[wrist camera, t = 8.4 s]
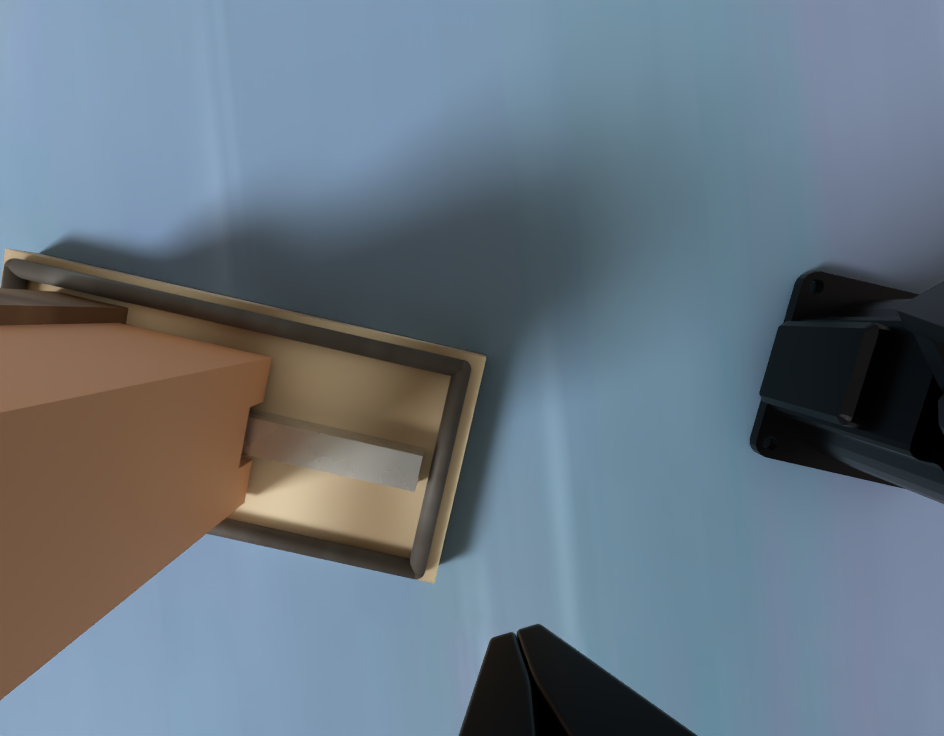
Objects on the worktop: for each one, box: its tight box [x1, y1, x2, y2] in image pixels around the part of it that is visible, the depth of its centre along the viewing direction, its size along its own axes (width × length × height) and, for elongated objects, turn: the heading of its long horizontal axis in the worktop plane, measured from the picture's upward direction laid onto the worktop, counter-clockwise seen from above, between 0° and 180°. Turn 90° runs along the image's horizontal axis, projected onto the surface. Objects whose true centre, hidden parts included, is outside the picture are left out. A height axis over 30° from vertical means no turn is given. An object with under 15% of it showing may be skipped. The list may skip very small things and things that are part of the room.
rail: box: [242, 409, 426, 492], centre depth 17 cm, size 10×1×1 cm, turn 77°
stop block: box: [0, 288, 128, 325], centre depth 14 cm, size 2×6×5 cm, turn 167°
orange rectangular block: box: [0, 323, 272, 700], centre depth 11 cm, size 5×5×11 cm
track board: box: [1, 249, 486, 583], centre depth 17 cm, size 16×8×2 cm, turn 77°
